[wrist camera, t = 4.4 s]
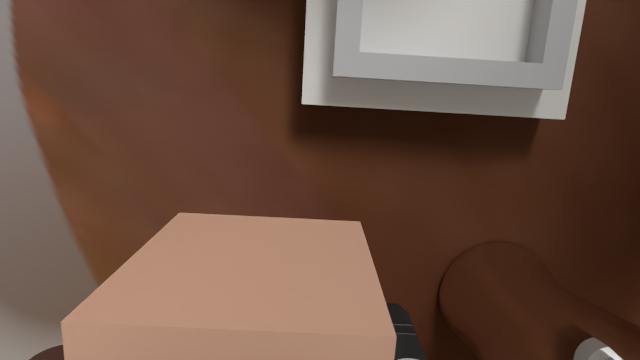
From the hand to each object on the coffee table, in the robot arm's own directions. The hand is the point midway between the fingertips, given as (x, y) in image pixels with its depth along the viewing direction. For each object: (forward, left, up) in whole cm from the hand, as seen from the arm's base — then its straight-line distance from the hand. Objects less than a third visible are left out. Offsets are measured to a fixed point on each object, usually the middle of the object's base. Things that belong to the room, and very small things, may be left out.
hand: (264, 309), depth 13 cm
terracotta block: (0, 0, -1) cm, 1 cm away
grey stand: (-7, -12, -9) cm, 17 cm away
